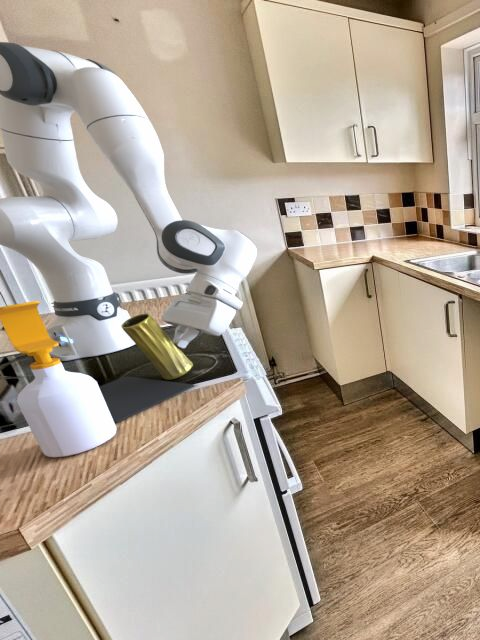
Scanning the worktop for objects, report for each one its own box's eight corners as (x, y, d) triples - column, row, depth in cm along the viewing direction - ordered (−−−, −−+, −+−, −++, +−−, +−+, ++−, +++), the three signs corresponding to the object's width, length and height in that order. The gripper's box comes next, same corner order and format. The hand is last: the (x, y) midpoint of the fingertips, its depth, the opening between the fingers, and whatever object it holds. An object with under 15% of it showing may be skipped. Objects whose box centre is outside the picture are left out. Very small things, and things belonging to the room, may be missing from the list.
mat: (43, 410, 82) (42, 408, 82) (126, 377, 95) (125, 375, 95) (117, 422, 77) (116, 421, 77) (194, 386, 90) (193, 384, 90)
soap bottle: (53, 465, 65) (-24, 314, 57) (37, 448, 70) (-37, 306, 61) (125, 436, 72) (67, 298, 64) (106, 422, 77) (49, 292, 68)
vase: (161, 384, 93) (115, 332, 84) (165, 369, 97) (121, 319, 89) (192, 372, 94) (149, 321, 86) (194, 358, 99) (154, 308, 90)
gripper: (173, 283, 101) (139, 334, 97) (222, 290, 92) (187, 347, 88) (199, 296, 106) (168, 345, 102) (247, 304, 97) (215, 358, 93)
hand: (177, 346), depth 95 cm, fingers closed, pressing on vase
